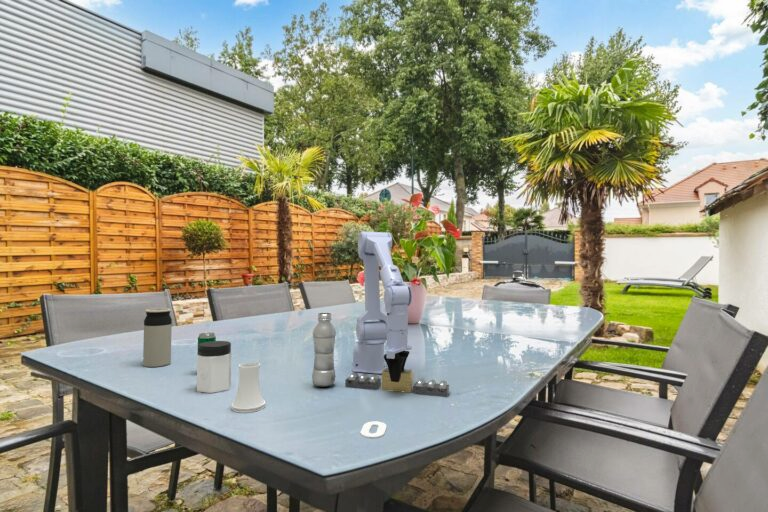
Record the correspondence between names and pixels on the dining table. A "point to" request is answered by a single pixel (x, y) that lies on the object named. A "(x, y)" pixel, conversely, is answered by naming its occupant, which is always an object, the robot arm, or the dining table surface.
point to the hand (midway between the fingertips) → (396, 379)
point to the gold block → (402, 385)
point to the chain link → (368, 426)
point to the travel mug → (157, 337)
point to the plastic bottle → (324, 351)
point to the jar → (214, 366)
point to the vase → (248, 389)
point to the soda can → (206, 338)
